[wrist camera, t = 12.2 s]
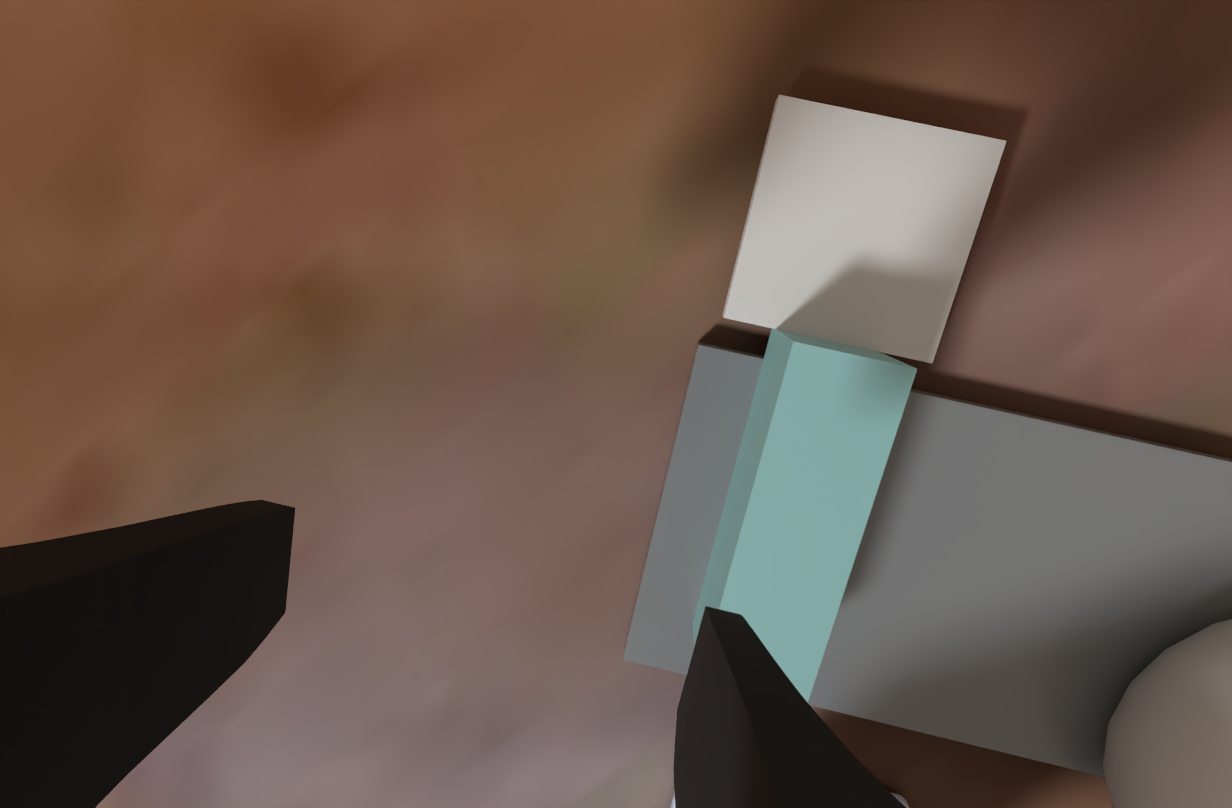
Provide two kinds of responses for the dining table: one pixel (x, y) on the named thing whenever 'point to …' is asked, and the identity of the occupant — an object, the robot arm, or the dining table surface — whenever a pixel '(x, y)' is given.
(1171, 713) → the donut
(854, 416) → the turner
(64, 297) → the dining table surface
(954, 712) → the slate board
